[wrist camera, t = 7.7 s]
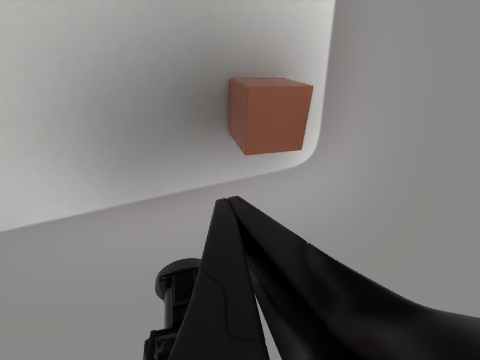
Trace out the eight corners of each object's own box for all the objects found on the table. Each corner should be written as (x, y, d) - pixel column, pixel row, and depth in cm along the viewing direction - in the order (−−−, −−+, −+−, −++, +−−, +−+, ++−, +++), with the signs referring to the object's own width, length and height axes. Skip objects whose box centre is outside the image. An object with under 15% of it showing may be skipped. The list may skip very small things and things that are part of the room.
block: (276, 131, 20) (301, 150, 16) (229, 134, 19) (244, 155, 15) (283, 78, 18) (314, 85, 14) (229, 78, 17) (247, 86, 13)
